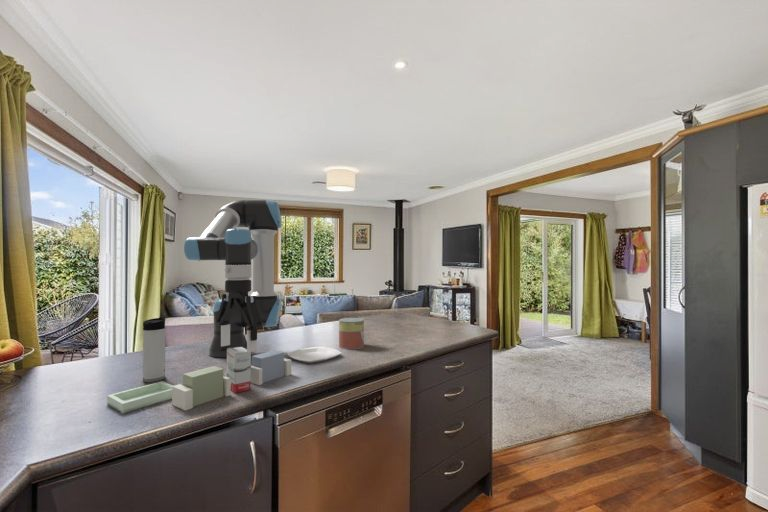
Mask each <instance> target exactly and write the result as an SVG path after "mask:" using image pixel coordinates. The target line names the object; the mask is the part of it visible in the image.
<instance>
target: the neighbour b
mask: <svg viewBox="0 0 768 512" xmlns="http://www.w3.org/2000/svg"><path fill="white" fill-rule="evenodd" d="M284 358H285V352H283V351H278V350H276V349H275V350H270V351H267V352H262V353H259V354H254V355H251V366H255V367H259V368H262V384H264V383H267V382H270V381H272V380H276V379H278V378H282V377H284V376H285V375H284Z"/></svg>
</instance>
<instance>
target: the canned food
mask: <svg viewBox="0 0 768 512" xmlns="http://www.w3.org/2000/svg"><path fill="white" fill-rule="evenodd" d="M364 326H365V319H364V318H361V317H343V318H340V319H338V348H340V349H342V350H359V349H362V348H364V347H365V344H364V343H365V337H364V336H365V327H364Z"/></svg>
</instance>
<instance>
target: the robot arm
mask: <svg viewBox="0 0 768 512" xmlns="http://www.w3.org/2000/svg"><path fill="white" fill-rule="evenodd" d="M246 228H249V229H246ZM280 228H281V229H282V216H281V211H280V205H279V203H278V202H277V201H276V200H275V201H274V200H267V199H266V200H264V199H263V200H255V199H239V200H235V201H232V202H229V203H226V204H224V205H223V206H221V208H219V209H218V210H217V212H216V213H215V215H214V219H213V220H212V221H211V223H210V224H209V225H208V226H207V227H206V228H205V229H204V231H203V232H202V234H200V236H199V237H197V236H193V237H188V238H186V239H185V241H184V245H183V251H184V256H185V258H186V259H187V260H189V261H191V260H192V261H197V262H198V261H199V262H200V261H224V262H225V264H224V265H225V268H224V272H225V274H224V275H225V276H224V277H225V279H226V280H225V281H224V291H225V292H226V293H223V294H222V295H221V298H220V299H217V300H216V301H215V302H214V304H213V338H212V339H211V340H212V341H211V342H210V347H209V349H208V356H210V357H212V358H227V349H228V348H237V347H243V348H245V349H247V352H251V353H252V352H256V351H257V340H258V329H260V328H262V327H264V328H268V327H275V326H276V325H277V324H278V323H279V320H280V319H279V318H280V315H281V308H282V299H281V298H278V294H277V292H276V291H274V289H275V288H274V287H275V285H274V284H275V280H274V279H275V235H276V234H277V233H279V229H280ZM251 278H252V280H251ZM250 292H251V293H250ZM245 328H247V330H246V331H247V332H246V335H245Z"/></svg>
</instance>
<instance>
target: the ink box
mask: <svg viewBox="0 0 768 512" xmlns="http://www.w3.org/2000/svg"><path fill="white" fill-rule="evenodd" d="M251 366H252V352H247V349H245V348H243V347H237V348H228V349H227V357H226V377H229V378H230V382H231V392H233V393H234V394H237V393H241V392H246V391H251V384H252V383H251Z"/></svg>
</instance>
